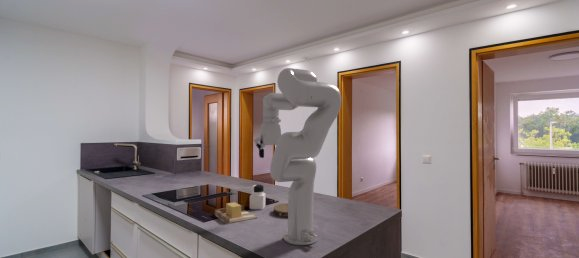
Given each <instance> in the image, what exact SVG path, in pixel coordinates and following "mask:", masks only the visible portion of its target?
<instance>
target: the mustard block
mask: <svg viewBox="0 0 579 258" xmlns="http://www.w3.org/2000/svg"><path fill="white" fill-rule="evenodd" d="M225 208H226V214H227V215H229V216H230V217H232V218H235V217H240V216H241V204H239V203H237V202H235V201H234V202H228V203H226V205H225Z"/></svg>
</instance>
